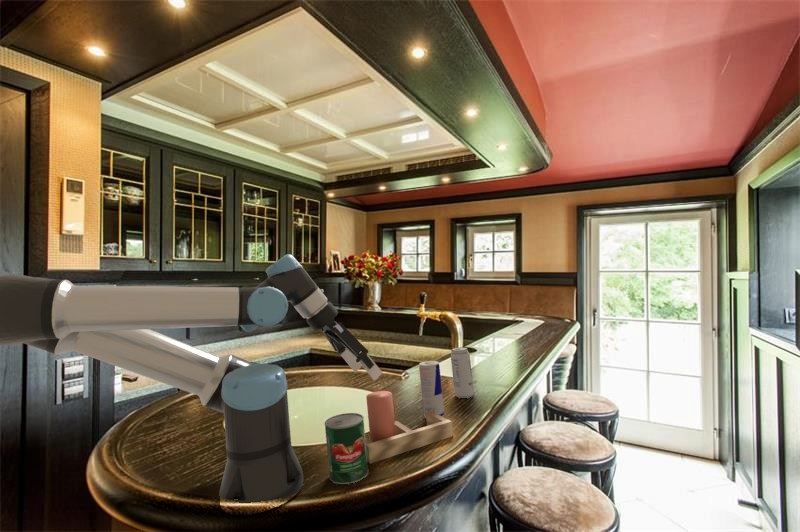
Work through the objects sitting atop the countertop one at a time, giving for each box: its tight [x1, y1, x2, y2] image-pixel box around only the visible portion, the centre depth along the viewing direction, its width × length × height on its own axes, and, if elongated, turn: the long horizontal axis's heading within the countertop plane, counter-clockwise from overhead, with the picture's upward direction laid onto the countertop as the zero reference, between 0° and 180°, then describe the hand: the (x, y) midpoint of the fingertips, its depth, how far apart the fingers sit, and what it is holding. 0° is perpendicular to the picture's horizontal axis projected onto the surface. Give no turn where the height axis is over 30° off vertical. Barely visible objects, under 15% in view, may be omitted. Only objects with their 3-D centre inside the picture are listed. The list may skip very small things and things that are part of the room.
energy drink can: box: [450, 346, 475, 399], centre depth 119 cm, size 6×6×15 cm
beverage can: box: [418, 360, 445, 420], centre depth 103 cm, size 6×6×15 cm
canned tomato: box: [324, 412, 369, 485], centre depth 76 cm, size 8×8×11 cm
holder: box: [365, 411, 454, 464], centre depth 89 cm, size 22×10×4 cm, turn 117°
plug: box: [365, 390, 396, 443], centre depth 87 cm, size 6×6×12 cm
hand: (367, 372), depth 97 cm, fingers open, 13 cm apart
